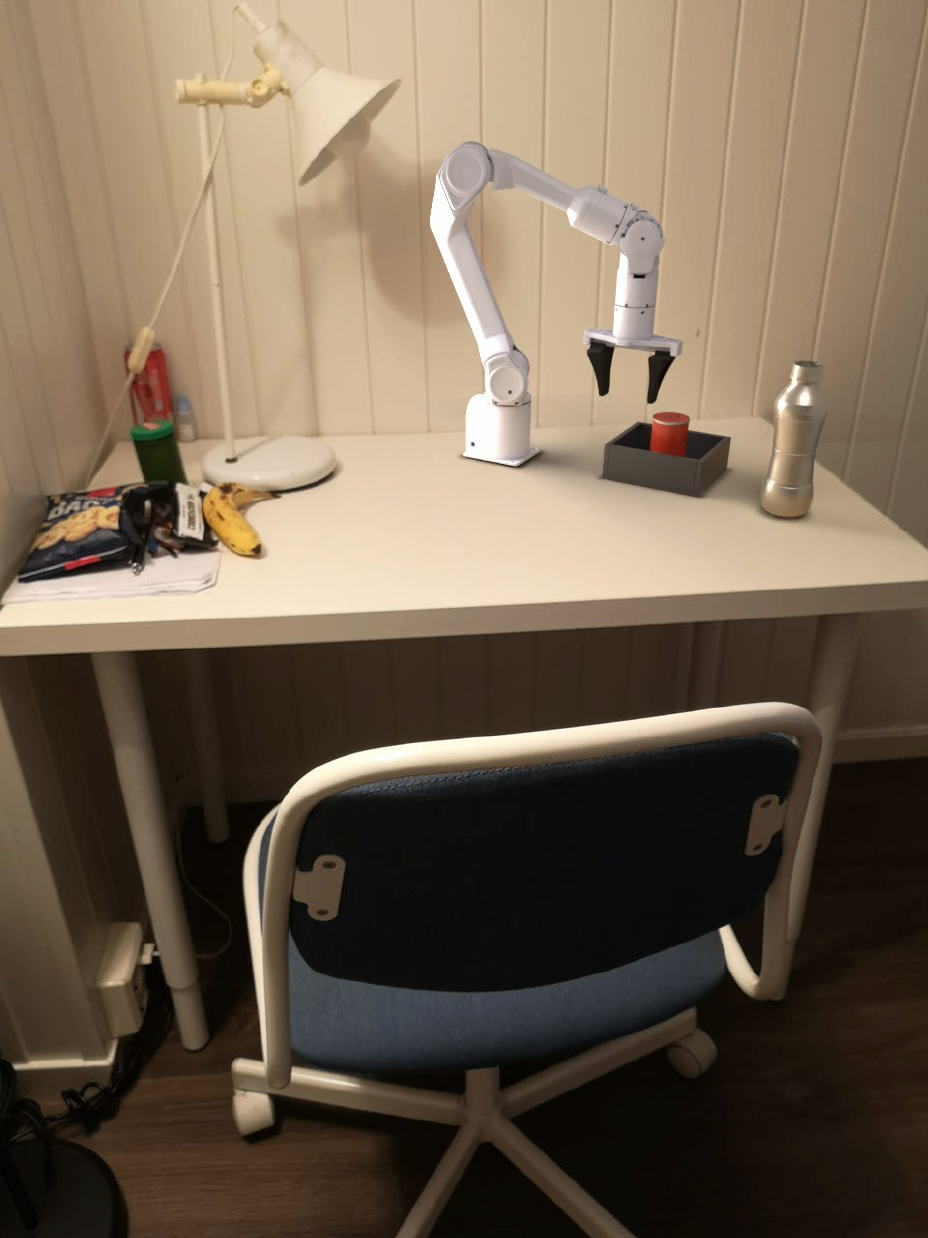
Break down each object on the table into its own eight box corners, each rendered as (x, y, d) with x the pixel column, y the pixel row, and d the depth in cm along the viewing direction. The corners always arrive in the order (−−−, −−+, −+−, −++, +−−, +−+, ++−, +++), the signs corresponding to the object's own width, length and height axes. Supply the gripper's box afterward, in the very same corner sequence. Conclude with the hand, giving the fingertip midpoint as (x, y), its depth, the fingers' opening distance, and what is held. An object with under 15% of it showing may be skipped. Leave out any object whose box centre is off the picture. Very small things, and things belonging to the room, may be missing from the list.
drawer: (602, 477, 143) (604, 444, 140) (635, 453, 152) (637, 421, 150) (698, 497, 136) (703, 462, 134) (726, 469, 146) (731, 436, 143)
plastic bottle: (812, 524, 128) (840, 371, 118) (758, 520, 129) (782, 369, 119) (807, 505, 133) (834, 358, 123) (756, 502, 134) (778, 356, 125)
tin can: (642, 472, 143) (647, 419, 139) (655, 461, 147) (660, 409, 143) (676, 478, 141) (682, 425, 137) (689, 467, 145) (695, 415, 141)
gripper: (576, 303, 139) (571, 397, 146) (674, 314, 132) (664, 412, 139) (597, 295, 144) (591, 386, 151) (691, 305, 138) (681, 400, 144)
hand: (627, 398), depth 145 cm, fingers open, 7 cm apart
